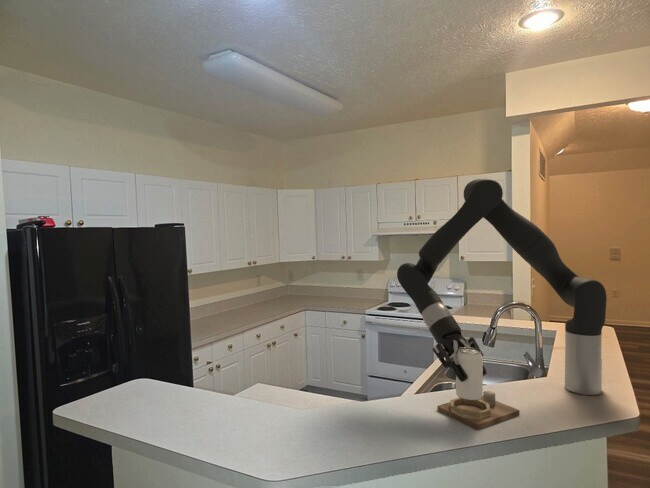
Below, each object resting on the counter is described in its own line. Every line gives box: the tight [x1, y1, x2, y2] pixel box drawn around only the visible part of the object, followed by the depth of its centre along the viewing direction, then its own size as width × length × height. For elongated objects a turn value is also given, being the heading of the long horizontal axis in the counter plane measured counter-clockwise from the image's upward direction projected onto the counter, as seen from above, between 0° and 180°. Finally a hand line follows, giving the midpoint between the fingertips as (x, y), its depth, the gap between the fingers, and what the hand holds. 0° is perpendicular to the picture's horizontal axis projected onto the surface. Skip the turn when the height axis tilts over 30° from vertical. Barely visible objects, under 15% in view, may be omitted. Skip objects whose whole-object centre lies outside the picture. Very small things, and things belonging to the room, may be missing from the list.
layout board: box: [436, 390, 520, 431], centre depth 111 cm, size 16×13×4 cm
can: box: [455, 347, 484, 401], centre depth 109 cm, size 6×6×12 cm
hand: (474, 377), depth 108 cm, fingers closed on can, 6 cm apart
